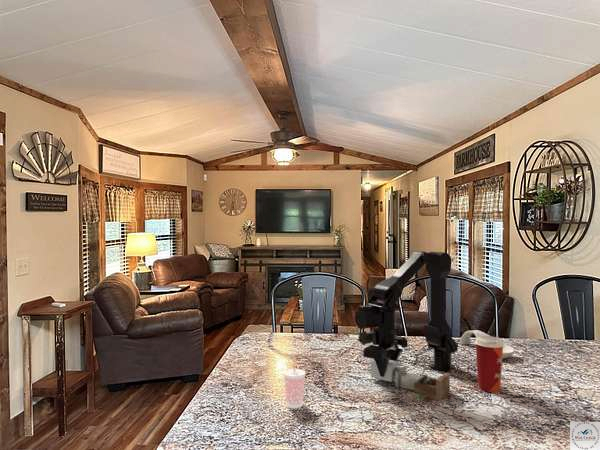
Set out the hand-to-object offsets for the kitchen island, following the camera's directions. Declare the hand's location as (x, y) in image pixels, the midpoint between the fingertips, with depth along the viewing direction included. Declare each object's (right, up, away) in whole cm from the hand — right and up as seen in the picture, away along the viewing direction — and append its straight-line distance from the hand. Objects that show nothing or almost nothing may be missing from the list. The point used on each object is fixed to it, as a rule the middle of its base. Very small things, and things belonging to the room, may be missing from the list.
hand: (386, 374), depth 141 cm
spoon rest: (+44, -2, +31) cm, 54 cm away
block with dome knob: (0, -1, 0) cm, 1 cm away
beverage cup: (-29, -3, -17) cm, 33 cm away
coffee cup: (+30, -3, -6) cm, 31 cm away
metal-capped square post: (+7, -2, -7) cm, 10 cm away
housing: (+10, -3, -10) cm, 15 cm away
